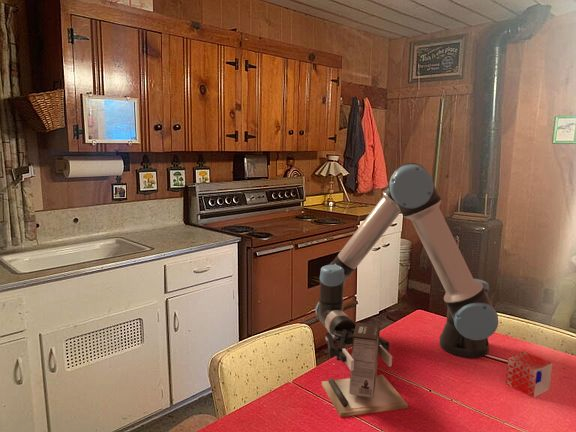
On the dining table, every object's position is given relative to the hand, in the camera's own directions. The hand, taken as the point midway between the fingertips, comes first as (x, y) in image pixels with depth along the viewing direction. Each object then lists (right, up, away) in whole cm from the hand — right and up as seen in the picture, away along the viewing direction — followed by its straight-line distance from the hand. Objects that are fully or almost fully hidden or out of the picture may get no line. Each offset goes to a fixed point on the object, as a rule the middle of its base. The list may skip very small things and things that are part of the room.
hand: (371, 363), depth 114 cm
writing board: (-1, -11, +6) cm, 12 cm away
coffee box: (-1, -8, +6) cm, 10 cm away
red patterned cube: (+45, -11, +12) cm, 48 cm away
